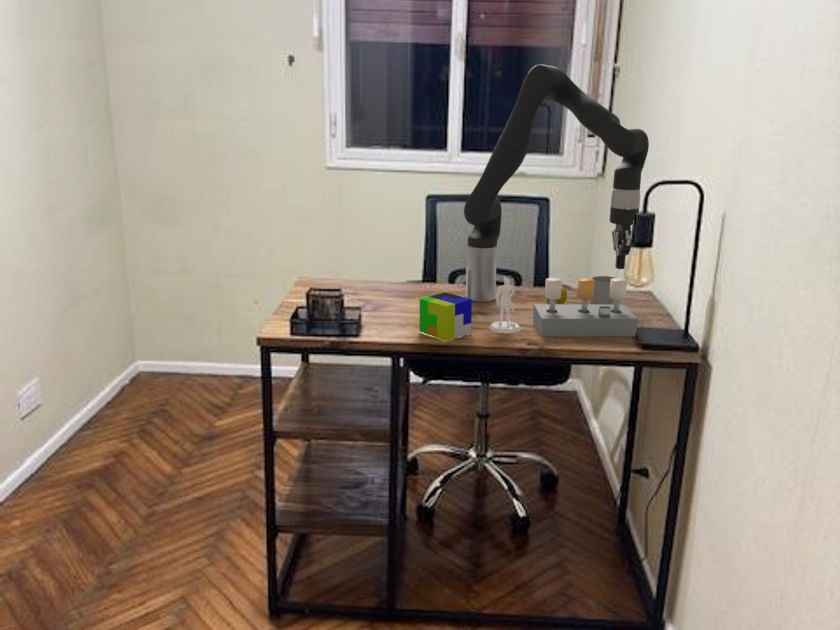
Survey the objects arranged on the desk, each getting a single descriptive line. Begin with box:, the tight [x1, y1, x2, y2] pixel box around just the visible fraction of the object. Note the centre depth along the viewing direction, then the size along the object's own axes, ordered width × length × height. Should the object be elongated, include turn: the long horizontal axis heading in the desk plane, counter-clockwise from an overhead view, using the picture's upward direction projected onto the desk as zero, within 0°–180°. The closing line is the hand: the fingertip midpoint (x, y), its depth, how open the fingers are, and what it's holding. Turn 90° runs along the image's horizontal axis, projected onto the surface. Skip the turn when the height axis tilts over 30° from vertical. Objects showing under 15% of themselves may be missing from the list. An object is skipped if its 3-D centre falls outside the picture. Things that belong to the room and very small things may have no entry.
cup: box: [589, 275, 616, 304], centre depth 228 cm, size 8×8×10 cm
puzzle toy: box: [419, 292, 473, 341], centre depth 206 cm, size 10×10×10 cm
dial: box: [598, 306, 611, 318], centre depth 206 cm, size 3×3×3 cm
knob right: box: [609, 277, 628, 312], centre depth 210 cm, size 4×4×9 cm
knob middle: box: [576, 277, 595, 312], centre depth 210 cm, size 4×4×9 cm
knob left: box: [544, 277, 563, 312], centre depth 210 cm, size 4×4×9 cm
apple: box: [545, 285, 568, 304], centre depth 230 cm, size 6×6×8 cm
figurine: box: [488, 276, 521, 334], centre depth 210 cm, size 9×9×15 cm
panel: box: [532, 303, 638, 337], centre depth 212 cm, size 26×14×5 cm, turn 91°
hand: (619, 268), depth 208 cm, fingers closed
